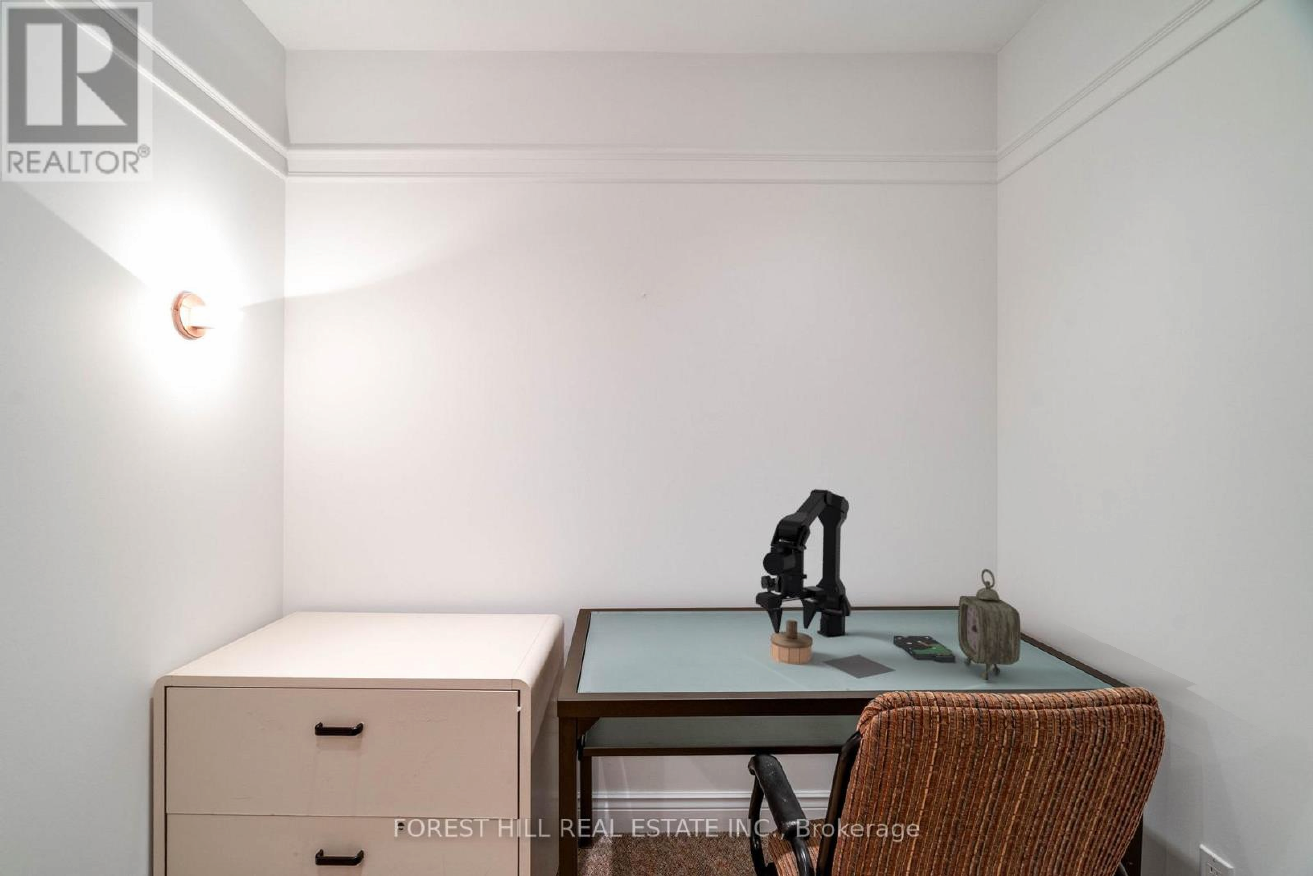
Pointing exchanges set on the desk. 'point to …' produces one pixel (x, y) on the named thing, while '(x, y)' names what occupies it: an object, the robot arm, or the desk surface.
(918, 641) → the disk drive
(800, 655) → the bowl
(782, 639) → the lid
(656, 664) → the desk surface
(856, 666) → the trivet
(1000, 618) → the tabletop clock
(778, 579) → the robot arm
